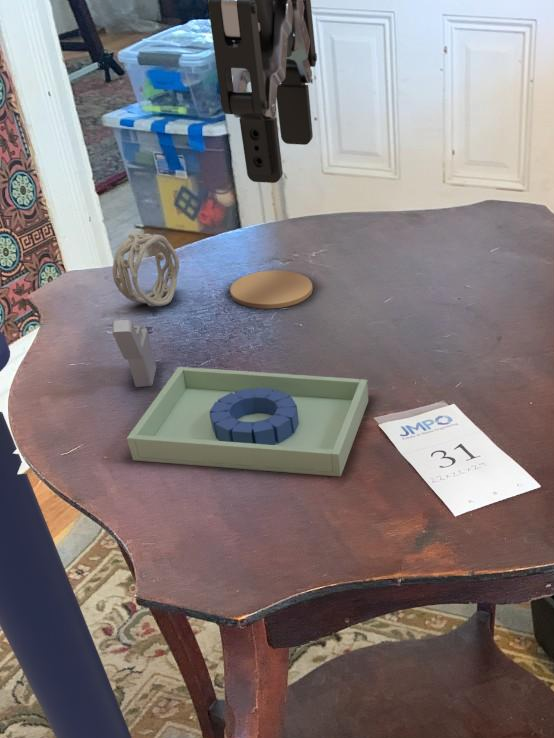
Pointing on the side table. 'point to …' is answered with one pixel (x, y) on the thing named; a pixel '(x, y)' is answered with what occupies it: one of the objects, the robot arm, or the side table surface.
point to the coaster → (271, 289)
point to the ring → (250, 403)
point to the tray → (294, 455)
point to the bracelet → (132, 246)
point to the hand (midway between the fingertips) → (282, 161)
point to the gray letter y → (136, 351)
